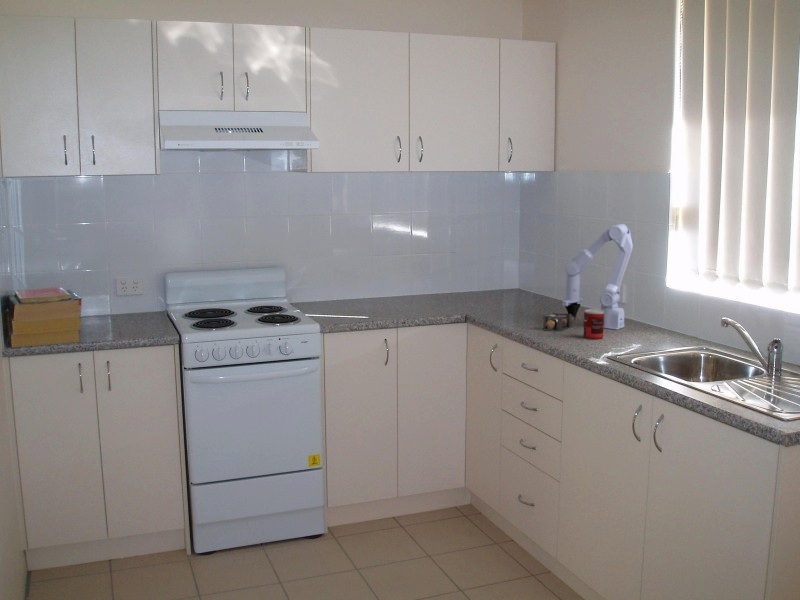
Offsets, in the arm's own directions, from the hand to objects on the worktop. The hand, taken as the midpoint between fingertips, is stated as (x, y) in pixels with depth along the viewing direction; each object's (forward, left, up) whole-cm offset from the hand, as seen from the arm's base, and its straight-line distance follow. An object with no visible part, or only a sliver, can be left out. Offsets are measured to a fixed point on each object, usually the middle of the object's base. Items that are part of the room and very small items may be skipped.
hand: (572, 320), depth 362 cm
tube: (0, +11, -2) cm, 11 cm away
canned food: (-21, +21, -2) cm, 30 cm away
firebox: (0, +13, -2) cm, 13 cm away
